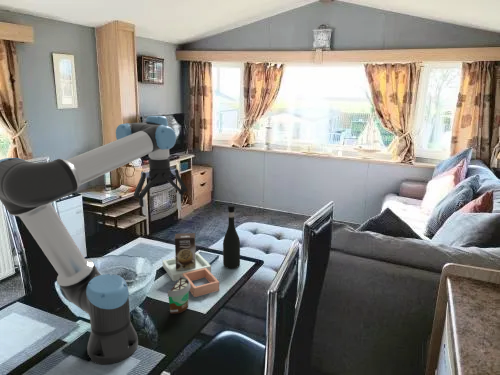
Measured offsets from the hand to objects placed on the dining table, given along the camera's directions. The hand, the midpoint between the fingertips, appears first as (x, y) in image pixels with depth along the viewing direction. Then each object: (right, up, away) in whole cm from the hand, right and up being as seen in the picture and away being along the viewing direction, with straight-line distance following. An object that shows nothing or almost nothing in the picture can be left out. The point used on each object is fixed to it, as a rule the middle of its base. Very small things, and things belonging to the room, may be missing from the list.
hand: (162, 211), depth 140 cm
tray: (+5, -29, +28) cm, 40 cm away
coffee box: (+5, -28, +27) cm, 39 cm away
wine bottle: (+25, -28, +32) cm, 49 cm away
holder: (+13, -33, +13) cm, 38 cm away
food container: (+8, -37, -2) cm, 38 cm away
